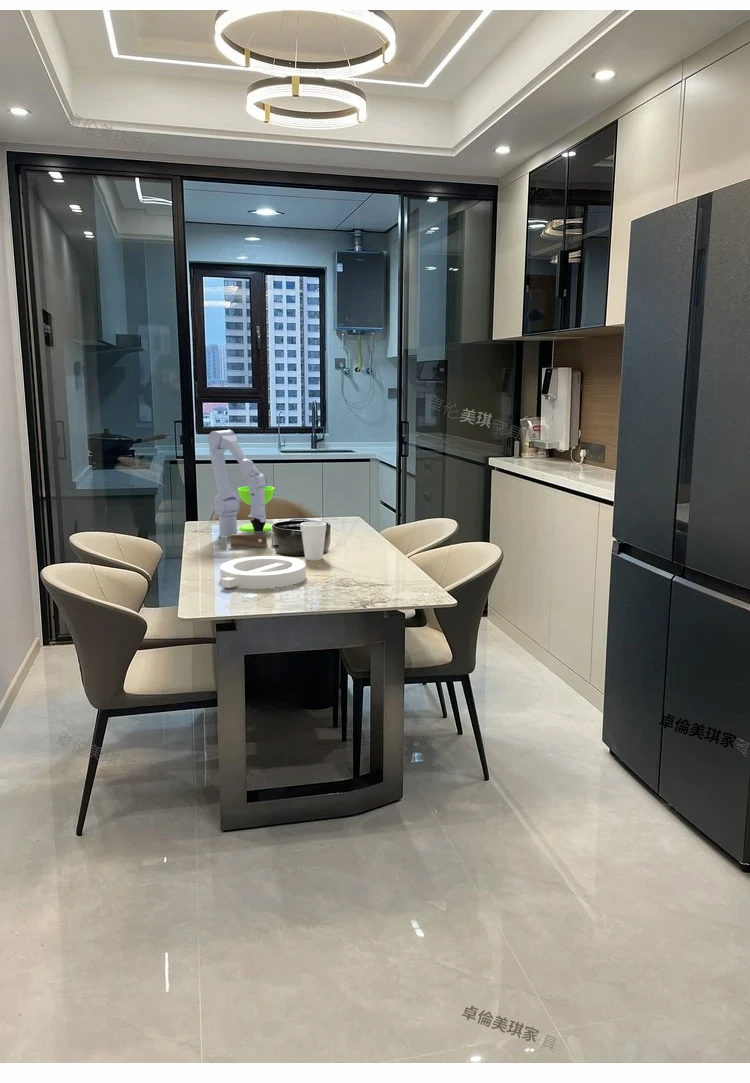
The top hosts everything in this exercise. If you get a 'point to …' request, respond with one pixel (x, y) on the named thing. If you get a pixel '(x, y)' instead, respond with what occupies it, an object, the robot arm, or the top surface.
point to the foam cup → (313, 539)
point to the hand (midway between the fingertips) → (258, 536)
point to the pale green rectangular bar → (224, 541)
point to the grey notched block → (259, 532)
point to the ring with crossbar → (262, 572)
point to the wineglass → (245, 497)
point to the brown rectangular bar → (248, 540)
